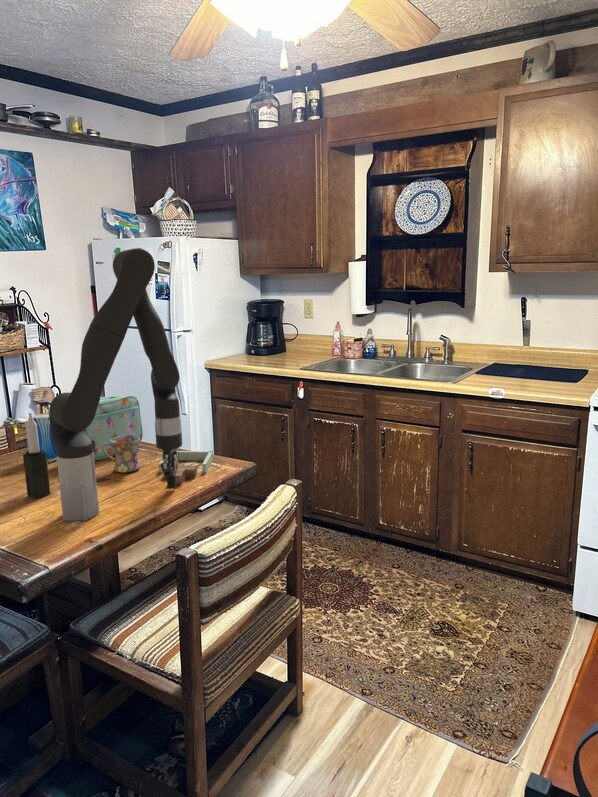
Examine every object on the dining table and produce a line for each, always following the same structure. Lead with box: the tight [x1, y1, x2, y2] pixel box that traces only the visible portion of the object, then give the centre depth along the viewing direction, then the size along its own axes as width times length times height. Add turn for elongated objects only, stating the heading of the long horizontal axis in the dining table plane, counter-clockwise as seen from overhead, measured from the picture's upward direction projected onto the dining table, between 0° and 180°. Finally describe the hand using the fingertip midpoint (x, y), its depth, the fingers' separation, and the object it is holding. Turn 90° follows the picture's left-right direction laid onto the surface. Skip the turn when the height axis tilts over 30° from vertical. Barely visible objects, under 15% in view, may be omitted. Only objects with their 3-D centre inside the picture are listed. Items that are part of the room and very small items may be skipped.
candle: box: [22, 412, 51, 500], centre depth 171 cm, size 5×5×25 cm
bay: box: [158, 450, 214, 474], centre depth 198 cm, size 14×15×3 cm
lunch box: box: [86, 394, 144, 461], centre depth 210 cm, size 27×10×21 cm, turn 147°
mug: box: [102, 435, 141, 474], centre depth 193 cm, size 12×9×11 cm
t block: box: [162, 464, 198, 486], centre depth 185 cm, size 10×10×3 cm
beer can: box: [32, 412, 57, 463], centre depth 204 cm, size 8×8×16 cm
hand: (171, 486), depth 176 cm, fingers closed
